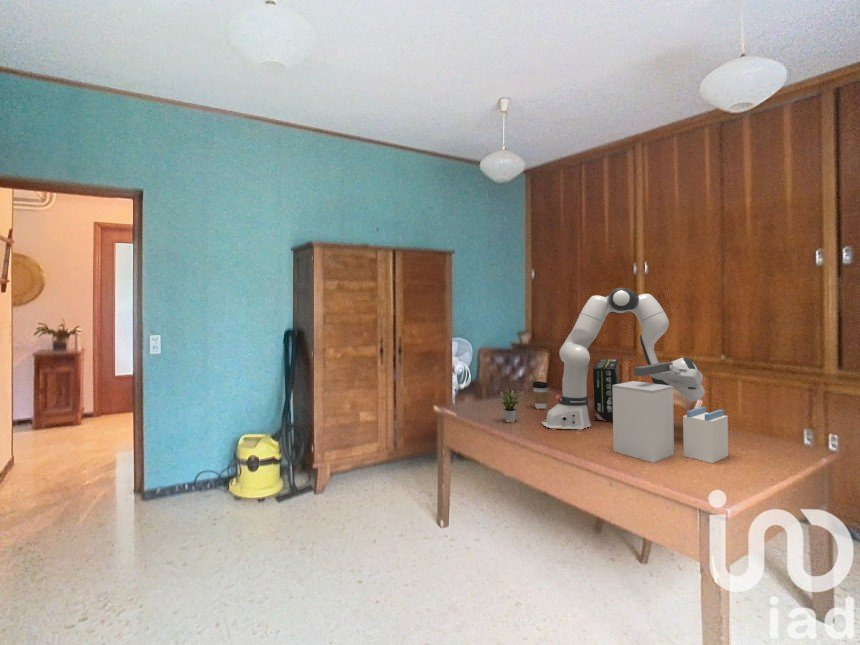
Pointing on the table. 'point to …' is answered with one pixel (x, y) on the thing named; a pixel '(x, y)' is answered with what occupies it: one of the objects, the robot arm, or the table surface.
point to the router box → (604, 388)
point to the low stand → (705, 435)
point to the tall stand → (643, 420)
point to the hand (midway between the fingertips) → (663, 365)
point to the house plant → (510, 406)
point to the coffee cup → (540, 394)
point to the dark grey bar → (651, 369)
